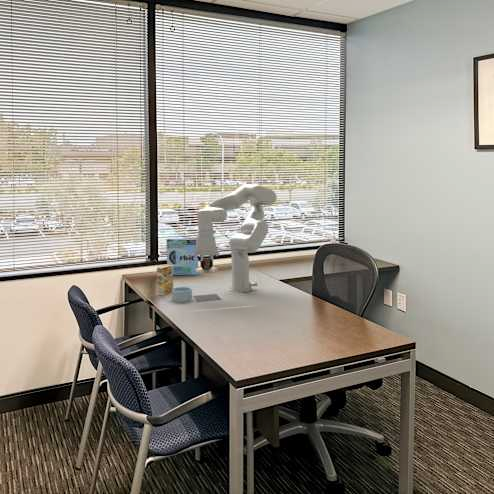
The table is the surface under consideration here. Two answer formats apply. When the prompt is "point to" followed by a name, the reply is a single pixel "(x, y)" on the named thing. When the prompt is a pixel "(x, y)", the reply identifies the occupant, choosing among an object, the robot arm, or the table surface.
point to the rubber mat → (207, 297)
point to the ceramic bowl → (181, 294)
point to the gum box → (182, 256)
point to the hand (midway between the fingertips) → (206, 267)
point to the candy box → (165, 279)
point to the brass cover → (206, 267)
